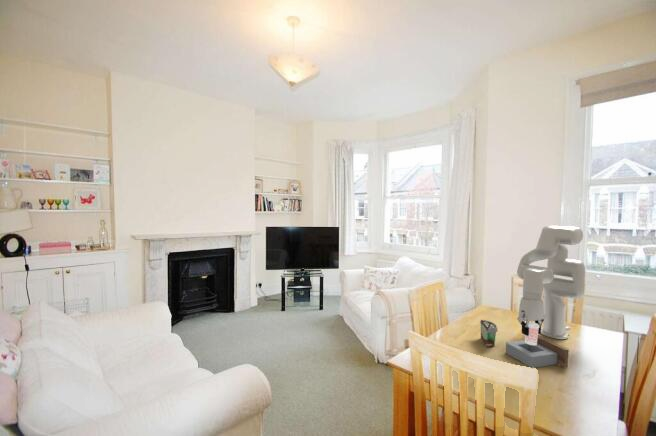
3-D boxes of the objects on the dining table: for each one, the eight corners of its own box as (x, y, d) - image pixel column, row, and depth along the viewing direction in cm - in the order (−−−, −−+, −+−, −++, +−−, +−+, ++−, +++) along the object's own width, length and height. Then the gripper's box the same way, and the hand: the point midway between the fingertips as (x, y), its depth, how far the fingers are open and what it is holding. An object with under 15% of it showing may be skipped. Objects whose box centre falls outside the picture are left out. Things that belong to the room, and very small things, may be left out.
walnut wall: (527, 346, 149) (527, 330, 148) (567, 367, 129) (568, 349, 129) (523, 346, 148) (524, 331, 148) (564, 367, 129) (565, 350, 128)
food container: (501, 349, 145) (501, 330, 144) (487, 348, 146) (488, 328, 146) (492, 338, 157) (492, 320, 156) (479, 337, 158) (480, 319, 158)
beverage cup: (541, 346, 133) (542, 316, 132) (526, 345, 134) (527, 315, 133) (534, 340, 139) (535, 311, 138) (520, 339, 140) (521, 310, 139)
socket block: (528, 349, 145) (529, 339, 145) (557, 364, 132) (557, 353, 131) (505, 352, 142) (505, 342, 141) (532, 368, 128) (532, 357, 128)
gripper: (539, 291, 141) (538, 328, 142) (510, 294, 137) (509, 332, 138) (555, 296, 134) (553, 335, 134) (524, 299, 129) (523, 339, 130)
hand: (531, 333), depth 136 cm, fingers closed on beverage cup, 6 cm apart
